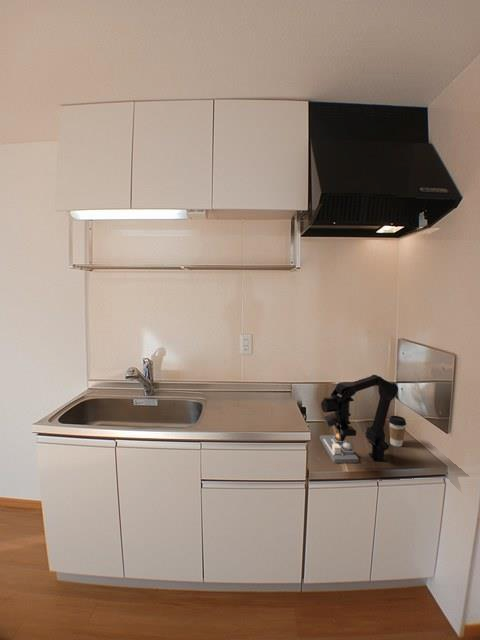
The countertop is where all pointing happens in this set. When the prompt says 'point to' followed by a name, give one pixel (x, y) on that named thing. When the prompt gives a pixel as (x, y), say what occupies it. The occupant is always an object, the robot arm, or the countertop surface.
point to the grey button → (347, 446)
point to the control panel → (345, 455)
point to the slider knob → (336, 448)
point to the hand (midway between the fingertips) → (341, 441)
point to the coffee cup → (397, 430)
